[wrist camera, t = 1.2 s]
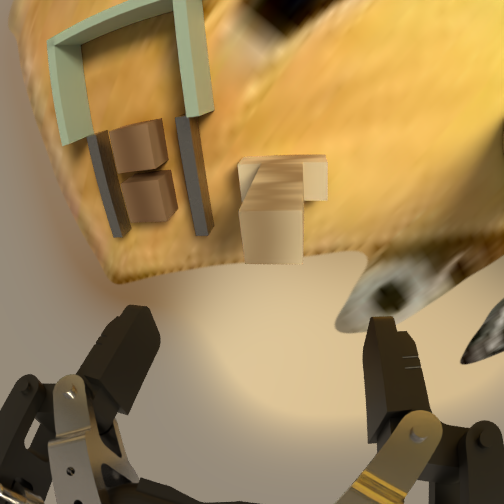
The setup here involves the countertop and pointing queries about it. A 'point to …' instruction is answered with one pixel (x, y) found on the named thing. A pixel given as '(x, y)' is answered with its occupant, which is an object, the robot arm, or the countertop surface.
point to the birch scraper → (278, 204)
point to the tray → (134, 10)
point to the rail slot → (192, 172)
